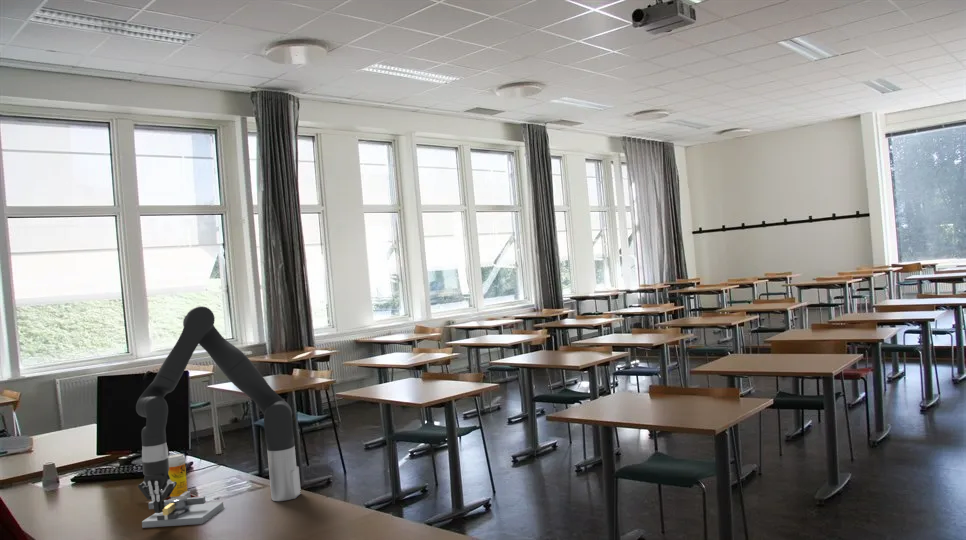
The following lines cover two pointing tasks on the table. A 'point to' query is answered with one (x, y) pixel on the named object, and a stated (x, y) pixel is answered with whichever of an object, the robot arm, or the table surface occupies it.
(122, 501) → the table surface
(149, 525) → the stand
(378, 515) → the table surface
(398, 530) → the table surface
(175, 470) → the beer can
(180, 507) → the valve handle
